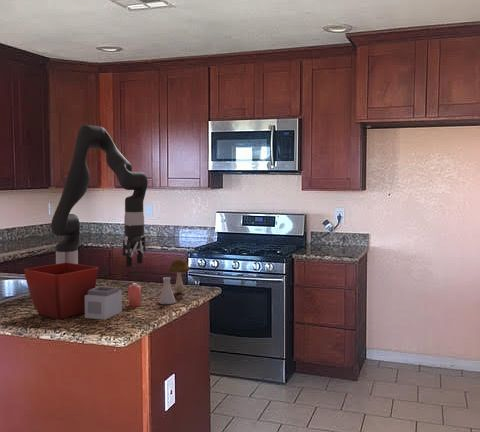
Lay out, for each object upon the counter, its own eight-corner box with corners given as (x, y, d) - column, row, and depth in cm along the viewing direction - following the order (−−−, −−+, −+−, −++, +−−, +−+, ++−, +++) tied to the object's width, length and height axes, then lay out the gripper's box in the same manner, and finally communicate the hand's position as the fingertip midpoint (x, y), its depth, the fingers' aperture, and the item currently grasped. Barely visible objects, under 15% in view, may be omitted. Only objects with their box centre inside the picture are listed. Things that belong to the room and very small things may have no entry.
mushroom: (188, 289, 253) (188, 256, 252) (191, 295, 242) (191, 260, 241) (167, 290, 251) (167, 256, 250) (169, 295, 240) (169, 260, 239)
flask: (155, 301, 230) (155, 277, 229) (173, 300, 232) (173, 276, 232) (159, 305, 223) (159, 280, 222) (178, 304, 226) (177, 279, 225)
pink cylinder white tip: (126, 306, 222) (126, 284, 221) (132, 303, 226) (132, 282, 225) (137, 307, 220) (137, 285, 220) (142, 304, 225) (142, 283, 224)
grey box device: (84, 318, 203) (84, 291, 202) (102, 310, 215) (102, 285, 214) (104, 319, 201) (103, 293, 200) (121, 311, 213) (121, 286, 212)
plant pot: (57, 323, 196) (56, 274, 195) (23, 315, 207) (22, 268, 206) (100, 312, 212) (99, 267, 210) (67, 305, 223) (66, 262, 221)
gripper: (134, 221, 229) (134, 262, 230) (116, 224, 215) (116, 267, 216) (151, 222, 226) (151, 262, 228) (134, 225, 213) (134, 268, 214)
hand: (134, 265), depth 222 cm, fingers open, 8 cm apart
